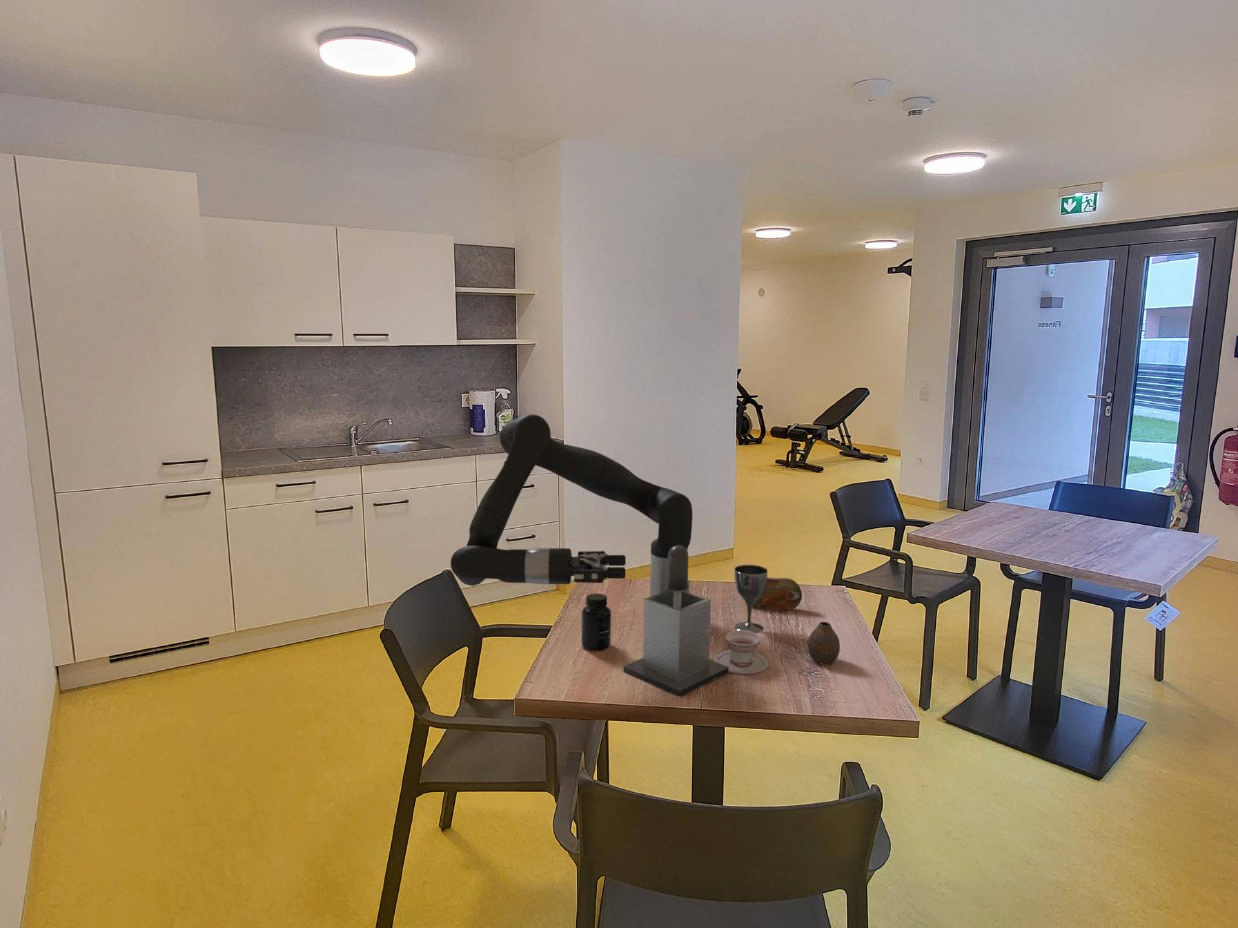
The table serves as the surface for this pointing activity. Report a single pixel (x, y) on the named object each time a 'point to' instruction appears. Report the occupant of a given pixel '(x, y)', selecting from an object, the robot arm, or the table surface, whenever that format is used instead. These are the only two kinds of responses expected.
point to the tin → (779, 595)
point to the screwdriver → (678, 572)
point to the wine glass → (750, 591)
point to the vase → (824, 644)
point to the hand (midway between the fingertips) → (625, 566)
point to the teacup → (742, 653)
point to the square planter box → (676, 644)
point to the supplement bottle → (596, 623)
